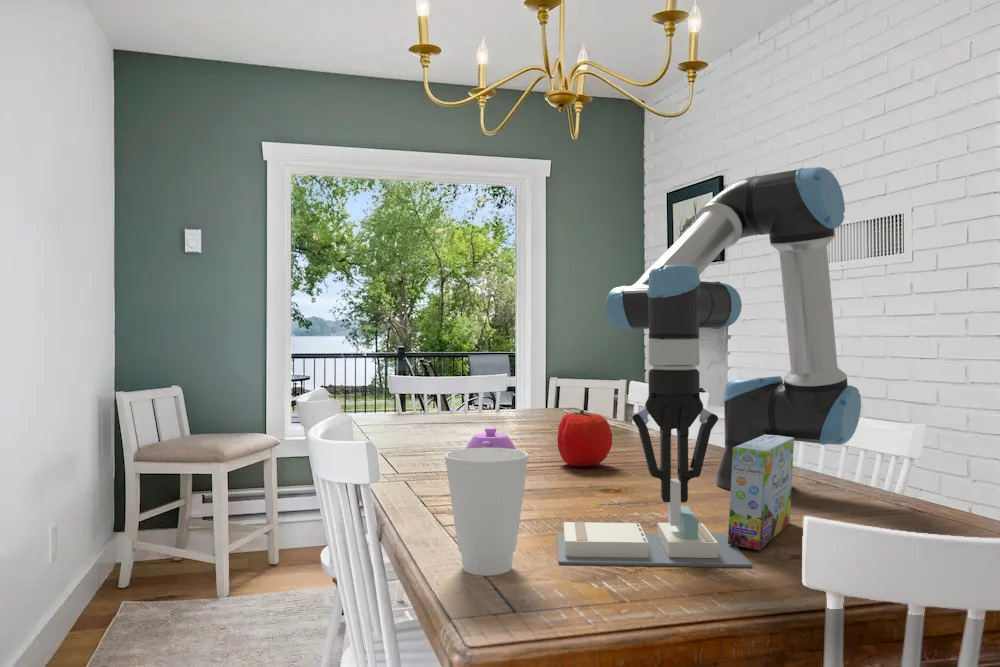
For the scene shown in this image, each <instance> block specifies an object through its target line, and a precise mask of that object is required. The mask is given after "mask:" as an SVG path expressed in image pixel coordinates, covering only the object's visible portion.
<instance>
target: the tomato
mask: <svg viewBox="0 0 1000 667" xmlns="http://www.w3.org/2000/svg"><path fill="white" fill-rule="evenodd" d="M567 411H568V412H570V413H569V414H565V415H563V417H562V418H561V420H560V422H559V425H558V430H557V438H556V439H557V449H558V452H559V456H560V457H561V459H562V460H563V462H564V463H565V464H567V465H568V466H572V467H584V468H585V467H586V468H587V467H593V466H597V465H599V464H601V462H603V461H604V460H605V459H606V458H607V457H608V455H609V453H610V451H611V450H612V446H613V433H612V430H611V427H610V424H609V422H608V420H607V419H606V418H605V417H604V416H602V415H601V414H598V413H591V412H585V410H584V409H580V410H579V411H578V412H577V411H571V410H568V409H567Z"/></svg>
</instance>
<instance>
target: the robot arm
mask: <svg viewBox="0 0 1000 667" xmlns="http://www.w3.org/2000/svg"><path fill="white" fill-rule="evenodd" d="M845 212H846V205H845V199H844V194H843V191H842V188H841V185H840V183H839V181H838V179H837V178H836V176H835V175H834V174H833V173H832V171H831V170H829V169H827V168H826V167H821V166H817V167H807V168H805V167H800V168H798V169H794V170H786V171H780V172H775V173H769V174H768V173H767V174H763V175H755V176H751V177H746V178H743V179H741V180H739V181H736V182H734V183H732V184H731V185H730V186H727V187H726V188H725V189H723V190H721V191H720V192H719V193H718V194H716V195H715V196H714V197H712V198H711V199H710V200H709V201H708V202H706V203H705V204H704V206H702V207H701V208H700V209H699V211H698V212H697V214H696V217H695V222H694V223H693V224H691V226H689V228H687V230H685V231H684V233H683V234H682V235H681V236H680V237H679V238H678V239H677V240H676V241H675V242H674V243H673V244H671V246H670V247H669V248H668V249H667V250H666V251H665V252H664V253H663V254H662V255H661V256H660V257H659V258H658V259H657V260H656V261H655V262H654V263H653V264H652V265H650V267H649V268H648V269H647V270H646V271H645V272H644V273H643V274H642V275H641V276H640V277H639V278H638V279H636V281H635V282H634V283H633V284H632V285H627V284H625V285H622V286H617V287H616V286H615V287H614V288H612V289H611V290H610V291H609V293H608V294H607V297H606V301H605V313H606V315H607V318H608V320H609V323H610V324H611V325H612V326H613V327H615V328H617V329H626V330H627V329H630V330H633V331H635V330H648V364H649V366H652V368H651V369H649V371H648V397H647V399H646V402H645V404H644V407H643V408H642V409H640V410H638V411H637V412H633V413H631V415H630V416H631V417H630V418H631V420H632V421H633V422H634V424H635V426H636V427H637V430H638V433H639V438H640V442H641V445H642V449H643V453H644V457H645V461H646V465H647V468H648V473H649V474H650V476H652V477H653V478H657V479H659V480H660V498H661V500H662V502H663V503H667V518H668V519H667V520H668V521H667V523H670V525H671V526H681V506H682V503H687V501H688V499H689V498H688V497H689V492H688V491H689V489H688V488H689V487H688V486H689V485H688V484H689V481H690V480H692V479H695V478H699V477H700V476H701V474H702V473H701V472H702V469H703V465H704V460H705V457H706V452H707V448H708V445H709V440H710V437H711V432H712V429H713V428H714V427H715V425H716V424H717V422H718V421H719V417H718V415H717V414H715V413H714V412H710V411H709V410H707V409H706V408H704V404H703V402H702V400H701V397H700V392H701V391H700V388H701V387H700V371H699V369H697V368H696V367H697V366H699V365H700V329H710V330H720V329H723V328H724V329H725V328H728V327H730V326H732V325H733V324H734V323H735V322H737V320H738V318H739V317H740V316H741V312H742V304H743V303H742V299H741V296H740V293H739V292H738V291H737V289H736V288H735V287H733V286H731V285H729V284H728V283H724V282H721V281H701V279H700V276H701V274H702V273H703V272H704V271H705V270H706V269H707V268H708V267H709V266H710V264H711V263H712V262H713V261H714V260H715V259H717V257H718V255H720V253H721V252H722V251H723V250H724V249H725V248H729V247H732V246H733V245H735V244H736V243H737V242H738V241H739V240H741V239H743V238H748V237H752V236H759V235H760V236H764V235H769V242H770V246H772V247H773V248H774V249H775V250H777V251H778V253H779V262H780V270H781V271H780V272H781V281H782V290H783V291H782V293H783V302H784V310H785V313H784V314H785V322H786V332H787V343H788V352H789V364H790V371H789V372H788V373H787V374H786V375H785V376H784V378H782V376H780V375H778V376H777V375H776V376H767V377H756V378H745V379H744V378H743V379H735V380H729V381H728V382H727V383H726V385H725V387H724V397H723V404H724V406H723V407H724V408H723V410H724V411H723V412H724V449H723V450H724V451H723V453H722V456H721V460H720V462H719V466H718V468H717V471H716V475H715V476H716V485H717V486H718V487H720V488H723V489H727V490H730V491H731V476H732V455H733V447H736V446H738V445H741V444H743V443H746V442H748V441H751V440H753V439H755V438H758V437H760V436H763V435H778V436H785V437H793V438H794V442H803V443H811V444H820V445H822V446H823V445H824V446H825V445H845V444H846V443H847V442H848V443H849V441H850V440H851V439H852V438H853V436H854V434H855V432H856V430H857V427H858V425H859V421H860V416H861V412H862V410H861V408H862V397H861V393H860V390H859V389H858V388H857V387H856V386H853V385H849V384H848V375H847V373H846V372H845V371H843V370H842V369H841V368H839V367H838V359H837V358H838V357H837V345H836V332H835V325H834V312H833V311H834V310H833V301H832V300H833V299H832V290H831V279H830V278H831V277H830V266H829V264H830V263H829V255H828V246H829V244H830V243H831V242H832V240H833V239H834V238H835V229H837V228H839V227H840V226H841V225H842V224H843V222H844V219H845V214H844V213H845ZM649 415H650V417H651V419H653V421H654V422H655V423H656V425H657V426H658V427H659V435H660V436H659V437H660V439H659V440H660V441H659V442H660V444H659V445H660V446H659V447H660V448H659V450H660V454H659V455H660V461H659V462H660V464H659V465H660V468H659V467H658V464H657V460H656V456H655V452H654V448H653V445H652V444H653V443H652V440H651V436H650V433H649V432H650V431H649V428H648V426H647V424H648V423H649V418H648V416H649ZM698 416H699V422H700V423H701V424H700V426H699V430H698V433H697V438H696V442H695V446H694V450H693V452H692V453H693V454H692V458H691V462H690V466H689V434H690V433H689V432H690V430H689V428H690V427H691V426H692V425H693V423H694V422H695V421H696V419H697V418H698ZM672 430H676V434H677V435H676V436H677V437H676V438H677V441H676V442H677V447H676V448H677V449H676V450H677V452H676V453H677V454H676V455H677V478H672V472H671V471H672V448H671V447H672V444H671V442H672Z"/></svg>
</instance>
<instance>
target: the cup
mask: <svg viewBox="0 0 1000 667" xmlns="http://www.w3.org/2000/svg"><path fill="white" fill-rule="evenodd" d="M529 456H530V455H529V453H528V452H526V451H524V450H520V449H517V448H516V449H507V448H469V449H466V448H462V449H454V450H451V451H448V452H446V453H445V455H444V457H443V458H444V460H445V466H446V474H447V480H448V487H449V488H448V489H449V493H450V494H449V495H450V501H451V508H452V515H453V521H454V522H453V523H454V528H455V535H456V543H457V550H458V552H459V553H460V555H461V556H460V557H461V564H462V570H463V572H465V573H467V574H470V575H475V576H483V577H484V576H485V577H486V576H498V575H503V574H506V573H508V572H510V571H511V570H512V568H513V557H514V553H515V552H516V549H517V544H518V534H519V527H520V520H521V513H522V508H523V507H522V506H523V498H524V491H525V489H524V488H525V483H526V482H525V481H526V474H527V467H528V460H529V458H530V457H529Z"/></svg>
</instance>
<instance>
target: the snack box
mask: <svg viewBox="0 0 1000 667" xmlns="http://www.w3.org/2000/svg"><path fill="white" fill-rule="evenodd" d="M794 447H795V441H794V438H793V437H785V436H778V435H763V436H760V437H758V438H755V439H753V440H751V441H748V442H746V443H743V444H741V445H738V446H736V447H733V455H732V476H731V490H730V495H729V496H730V497H729V498H730V499H729V500H730V501H729V513H728V514H729V517H728V518H729V519H728V532H727V534H728V535H727V536H728V544H731V545H735V546H736V547H741V548H746V549H750V550H755V551H756V550H757V551H761V550H762V549H763V548H764V547H765V546H767V544H768V543H770V542H771V541H772V540H773V539H774V538H775V537H776V536H777V535H778V534H779V533H781V532H782V531H783V530H784V529H785V528H786V527H787V526H788V525H789V524H790V523H791V507H792V506H791V504H792V485H793V484H792V483H793V466H794V449H795V448H794Z"/></svg>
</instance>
